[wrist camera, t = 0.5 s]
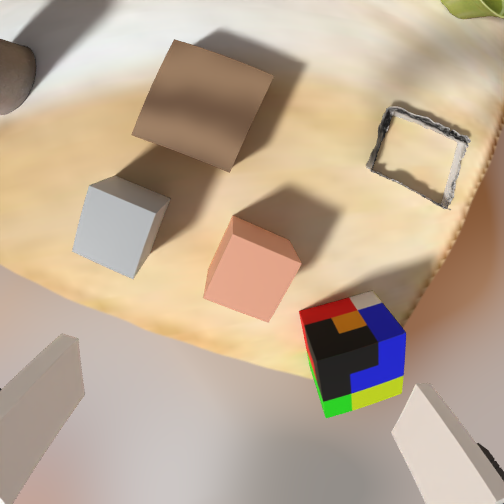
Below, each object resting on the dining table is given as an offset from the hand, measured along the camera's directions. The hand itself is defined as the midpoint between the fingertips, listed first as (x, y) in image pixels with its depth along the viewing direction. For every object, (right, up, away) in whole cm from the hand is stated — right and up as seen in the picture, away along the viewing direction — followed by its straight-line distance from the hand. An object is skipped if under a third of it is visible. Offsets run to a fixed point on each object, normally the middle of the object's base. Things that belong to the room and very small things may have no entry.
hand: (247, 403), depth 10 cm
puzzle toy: (+12, -5, +31) cm, 33 cm away
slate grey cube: (-13, +10, +23) cm, 29 cm away
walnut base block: (-5, +20, +20) cm, 29 cm away
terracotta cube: (0, +5, +26) cm, 26 cm away
